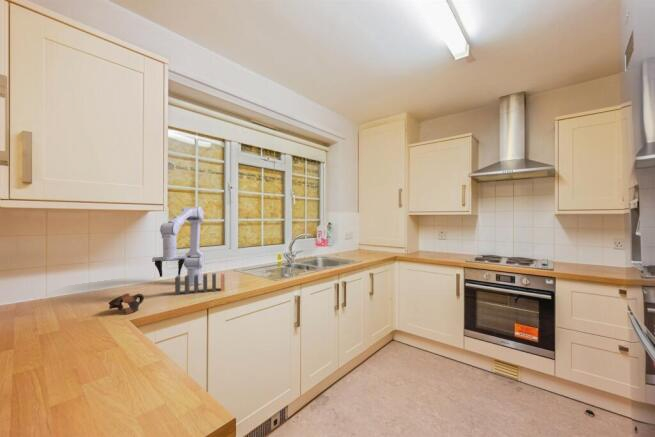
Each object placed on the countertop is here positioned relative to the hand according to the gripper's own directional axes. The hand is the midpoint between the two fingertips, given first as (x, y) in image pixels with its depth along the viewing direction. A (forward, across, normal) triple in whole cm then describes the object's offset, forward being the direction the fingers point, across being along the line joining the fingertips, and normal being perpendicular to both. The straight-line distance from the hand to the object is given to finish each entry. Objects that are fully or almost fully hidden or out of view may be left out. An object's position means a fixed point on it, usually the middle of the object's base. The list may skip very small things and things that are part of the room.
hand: (170, 275), depth 135 cm
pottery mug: (+10, -13, -16) cm, 24 cm away
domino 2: (+10, +7, +4) cm, 13 cm away
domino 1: (+10, +3, +4) cm, 11 cm away
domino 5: (+10, +20, +3) cm, 22 cm away
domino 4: (+10, +15, +3) cm, 19 cm away
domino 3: (+10, +11, +3) cm, 15 cm away
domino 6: (+10, +24, +3) cm, 26 cm away
